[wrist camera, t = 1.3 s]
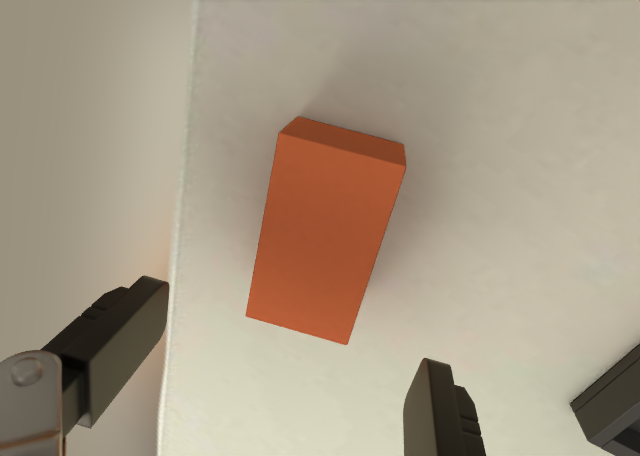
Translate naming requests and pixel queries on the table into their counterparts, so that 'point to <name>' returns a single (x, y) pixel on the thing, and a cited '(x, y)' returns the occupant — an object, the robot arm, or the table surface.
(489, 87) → the table surface
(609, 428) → the frame
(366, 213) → the orange block
